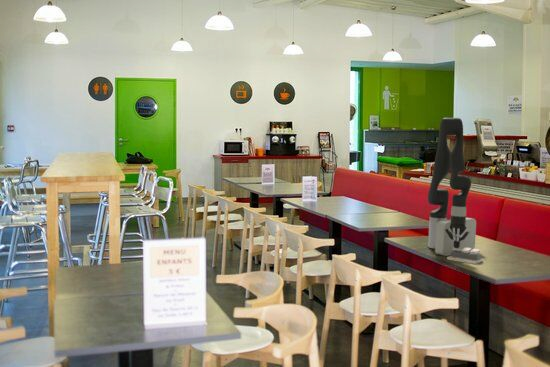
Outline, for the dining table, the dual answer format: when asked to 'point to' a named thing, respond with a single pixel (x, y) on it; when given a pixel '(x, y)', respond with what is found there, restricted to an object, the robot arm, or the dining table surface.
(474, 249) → the rocker
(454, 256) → the switch unit
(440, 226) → the rounded white slab
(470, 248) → the rocker
